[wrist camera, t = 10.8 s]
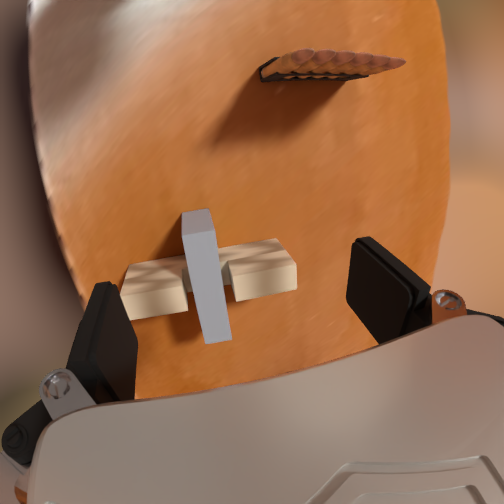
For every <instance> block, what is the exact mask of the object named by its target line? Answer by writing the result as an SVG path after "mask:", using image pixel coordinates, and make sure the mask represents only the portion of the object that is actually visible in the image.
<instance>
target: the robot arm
mask: <svg viewBox="0 0 504 504" xmlns="http://www.w3.org/2000/svg"><path fill="white" fill-rule="evenodd" d="M430 288H431V286H429V285H428V284H427V283H426V282H425V281H424V280H423V279H421V278H420V277H419V276H418V275H417V274H416V273H414V272H413V271H412V270H411V269H410V268H408V267H407V266H406V265H405V264H404V263H402V262H401V261H400V260H399V259H398V258H396V257H395V256H394V255H393V254H392V253H390V252H389V251H388V250H387V249H385V248H384V247H383V246H382V245H380V244H379V243H378V242H377V241H375V240H374V239H373V238H371V237H370V236H368V237H362V238H357V239H356V240H355V242H354V243H353V244H352V248H351V258H350V267H349V276H348V284H347V292H346V300H347V303H348V305H349V306H350V307H351V308H352V310H353V311H354V312H355V314H356V315H357V316H358V317H359V319H360V320H361V321H362V323H363V324H364V325H365V326H366V328H367V329H368V330H369V332H370V333H371V334H372V336H373V337H374V338H375V340H376V341H377V342H378V344H379V345H376V346H373V347H371V348H368V349H365V350H362V351H359V352H356V353H353V354H350V355H347V356H344V357H340V358H337V359H334V360H331V361H327V362H324V363H321V364H317V365H314V366H310V367H306V368H303V369H299V370H295V371H292V372H288V373H284V374H280V375H276V376H272V377H267V378H263V379H259V380H254V381H249V382H245V383H240V384H235V385H230V386H225V387H219V388H214V389H208V390H202V391H196V392H190V393H183V394H176V395H168V396H161V397H153V398H144V399H136V400H134V397H135V378H136V364H137V352H138V340H137V337H136V334H135V332H134V329H133V327H132V325H131V322H130V320H129V317H128V315H127V312H126V309H125V307H124V304H123V302H122V299H121V296H120V293H119V291H118V288H117V286H116V285H115V284H113V285H112V283H111V282H110V281H107V282H101V283H96V284H95V286H94V289H93V291H92V294H91V297H90V299H89V302H88V305H87V307H86V310H85V313H84V316H83V319H82V320H81V322H80V324H79V327H78V330H77V333H76V336H75V340H74V342H73V346H72V349H71V352H70V355H69V359H68V362H67V366H66V369H61V368H60V369H56V370H53V371H52V372H50V373H48V374H47V375H46V376H45V377H44V378H43V380H42V381H41V384H40V386H39V394H40V397H41V400H40V401H39V402H37V403H36V404H35V405H34V406H32V407H31V408H30V409H29V410H28V411H26V412H25V413H24V414H23V415H21V416H20V417H19V418H17V419H16V420H15V421H14V422H13V423H11V424H10V425H9V426H8V427H7V428H6V429H5V431H4V433H3V436H2V447H3V451H2V452H0V504H504V319H503V318H502V317H499V316H494V315H490V314H486V313H481V312H477V311H473V310H469V309H466V305H465V302H464V300H463V298H462V297H461V296H460V295H458V294H457V293H455V292H453V291H449V290H444V289H442V290H437V291H435V292H434V293H433V294H432V295H431V294H430V293H429V291H430Z"/></svg>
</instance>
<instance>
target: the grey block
mask: <svg viewBox="0 0 504 504" xmlns="http://www.w3.org/2000/svg"><path fill="white" fill-rule="evenodd" d="M182 240H183V245H184V250H185V255H186V260H187V265H188V270H189V275H190V280H191V284H192V289H193V293H194V298H195V302H196V307H197V311H198V315H199V320H200V324H201V328H202V332H203V336H204V340H205V344H210V343H216V342H221V341H226V340H232V336H231V331H230V325H229V319H228V313H227V307H226V300H225V294H224V288H223V281H222V275H221V268H220V262H219V255H218V248H217V241H216V234H215V229H214V225H213V222H212V218H211V215H210V212H209V208H208V209H202V210H195V211H189V212H184V213H182Z"/></svg>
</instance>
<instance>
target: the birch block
mask: <svg viewBox="0 0 504 504" xmlns="http://www.w3.org/2000/svg"><path fill="white" fill-rule="evenodd" d="M218 255H219V262H220V268H221V275H222V281H223V286H225V285H230V284H231V286H232V289H233V293H234V296H235V299H236V302H237V301H242V300H247V299H252V298H257V297H262V296H267V295H272V294H276V293H281V292H286V291H290V290H295V289H297V268H296V263H295V262H294V260H293V259H292V258H291V256H290V255H289V254H288V253H287V251H286V250H285V249H284V247H283V246H282V245H281V244H280V242H279V241H278V240H277V238H275V239H269V240H263V241H257V242H252V243H246V244H240V245H235V246H229V247H224V248H218ZM192 291H193V289H192V284H191V280H190V275H189V270H188V265H187V260H186V255H179V256H174V257H168V258H163V259H158V260H152V261H147V262H141V263H136V264H131V265H129V267H128V270H127V273H126V276H125V279H124V283H123V286H122V289H121V293H120V296H121V299H122V302H123V304H124V307H125V309H126V312H127V315H128V317H129V320H135V319H141V318H148V317H154V316H160V315H166V314H172V313H178V312H184V311H188V301H187V292H192Z"/></svg>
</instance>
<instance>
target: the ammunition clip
mask: <svg viewBox="0 0 504 504" xmlns="http://www.w3.org/2000/svg"><path fill="white" fill-rule="evenodd" d="M405 63H406V60H404V59H402V58H397V57H388V56H386V55H372V54H370V53H364V52H361V53H355V52H353V51H339V52H336V51H335V50H332V49H323V50H319V51H316V52H315V51H314V49H311V48H303V49H300V50H297V51H295V52H291V53H287V54H285V55H284V56H282V57H274V58H273V59H271V60H269V61H268V62H266V63H265V64H263V65H261V66H260V67H259V72H260V79H261V82H271V81H292V80H340V81H348V80H353V79H359V78H365V77H369V75H371V74H377V73H381V72H383V71H386V70H390V69H395V68H398V67H400V66H402V65H404V64H405Z"/></svg>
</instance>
